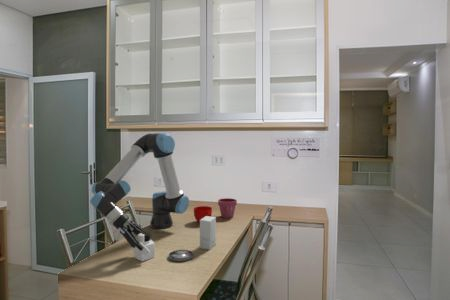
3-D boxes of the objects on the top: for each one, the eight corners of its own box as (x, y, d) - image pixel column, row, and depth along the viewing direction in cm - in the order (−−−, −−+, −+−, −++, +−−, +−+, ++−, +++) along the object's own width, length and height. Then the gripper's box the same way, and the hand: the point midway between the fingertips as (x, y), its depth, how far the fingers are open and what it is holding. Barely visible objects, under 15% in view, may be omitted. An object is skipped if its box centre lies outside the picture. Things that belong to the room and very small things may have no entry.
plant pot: (232, 213, 218) (232, 197, 217) (239, 217, 205) (239, 200, 204) (215, 215, 212) (215, 198, 212) (222, 219, 199) (222, 202, 199)
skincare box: (205, 243, 153) (205, 215, 153) (216, 244, 151) (216, 216, 150) (199, 248, 145) (199, 219, 145) (210, 250, 143) (210, 220, 143)
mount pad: (170, 252, 141) (170, 249, 140) (194, 251, 141) (194, 249, 141) (166, 262, 129) (166, 259, 129) (192, 261, 129) (192, 259, 129)
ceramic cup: (201, 227, 181) (201, 212, 181) (190, 221, 195) (190, 207, 195) (218, 224, 188) (218, 210, 188) (206, 218, 203) (206, 205, 202)
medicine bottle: (146, 253, 139) (146, 230, 139) (154, 257, 135) (154, 233, 134) (133, 257, 134) (133, 233, 133) (142, 261, 129) (142, 236, 129)
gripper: (120, 217, 144) (150, 246, 145) (102, 230, 122) (138, 265, 123) (130, 207, 144) (160, 236, 145) (114, 218, 122) (150, 253, 123)
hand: (150, 249), depth 134 cm, fingers closed on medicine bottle, 10 cm apart
